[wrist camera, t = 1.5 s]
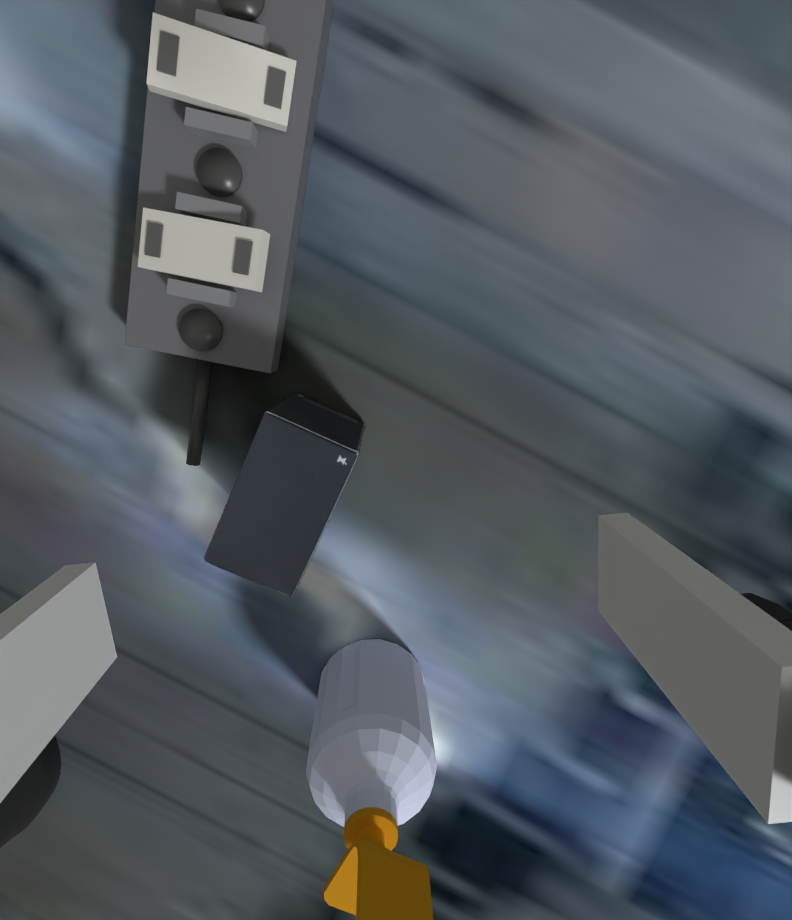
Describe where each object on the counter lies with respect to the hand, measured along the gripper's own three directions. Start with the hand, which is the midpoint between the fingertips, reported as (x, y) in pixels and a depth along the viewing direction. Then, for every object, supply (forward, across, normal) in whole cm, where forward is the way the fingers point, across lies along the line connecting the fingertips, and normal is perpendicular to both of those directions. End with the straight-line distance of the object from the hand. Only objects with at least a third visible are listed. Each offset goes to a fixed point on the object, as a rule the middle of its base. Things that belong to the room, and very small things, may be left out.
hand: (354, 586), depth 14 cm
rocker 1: (+24, -6, +22) cm, 33 cm away
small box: (+29, -6, -3) cm, 30 cm away
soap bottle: (+29, -2, -23) cm, 37 cm away
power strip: (+29, -8, +17) cm, 34 cm away
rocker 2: (+24, -9, +12) cm, 29 cm away
